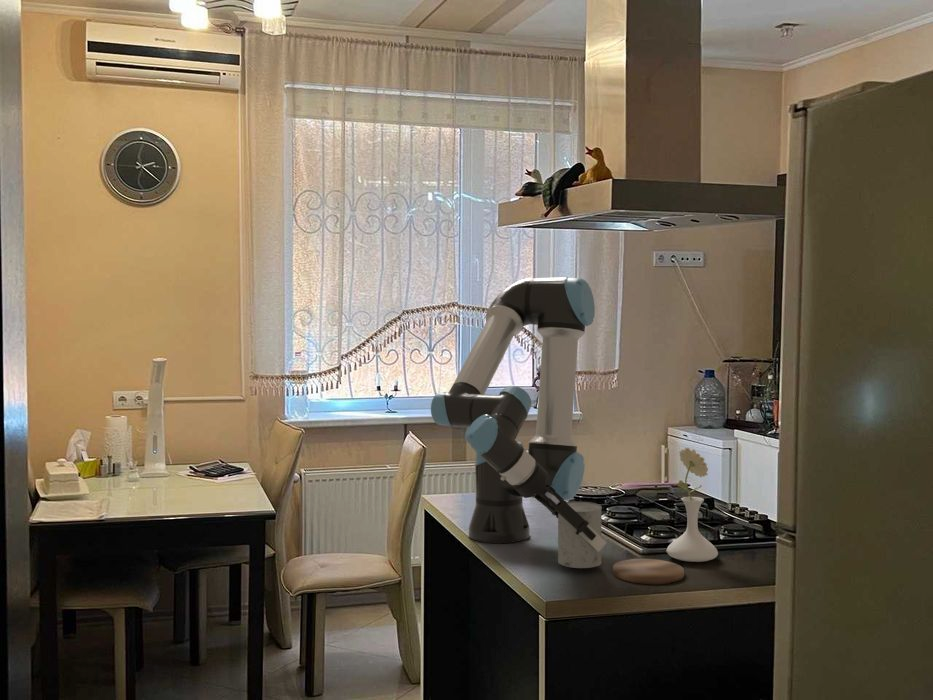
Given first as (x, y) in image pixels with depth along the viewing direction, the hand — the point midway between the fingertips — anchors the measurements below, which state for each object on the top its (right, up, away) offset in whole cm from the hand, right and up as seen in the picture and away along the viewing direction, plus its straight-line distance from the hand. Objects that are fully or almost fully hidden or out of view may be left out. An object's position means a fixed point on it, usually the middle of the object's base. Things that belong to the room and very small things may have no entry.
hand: (592, 540), depth 214 cm
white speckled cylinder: (-3, -5, -1) cm, 6 cm away
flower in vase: (+23, -6, +7) cm, 25 cm away
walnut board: (+11, -6, -5) cm, 14 cm away
